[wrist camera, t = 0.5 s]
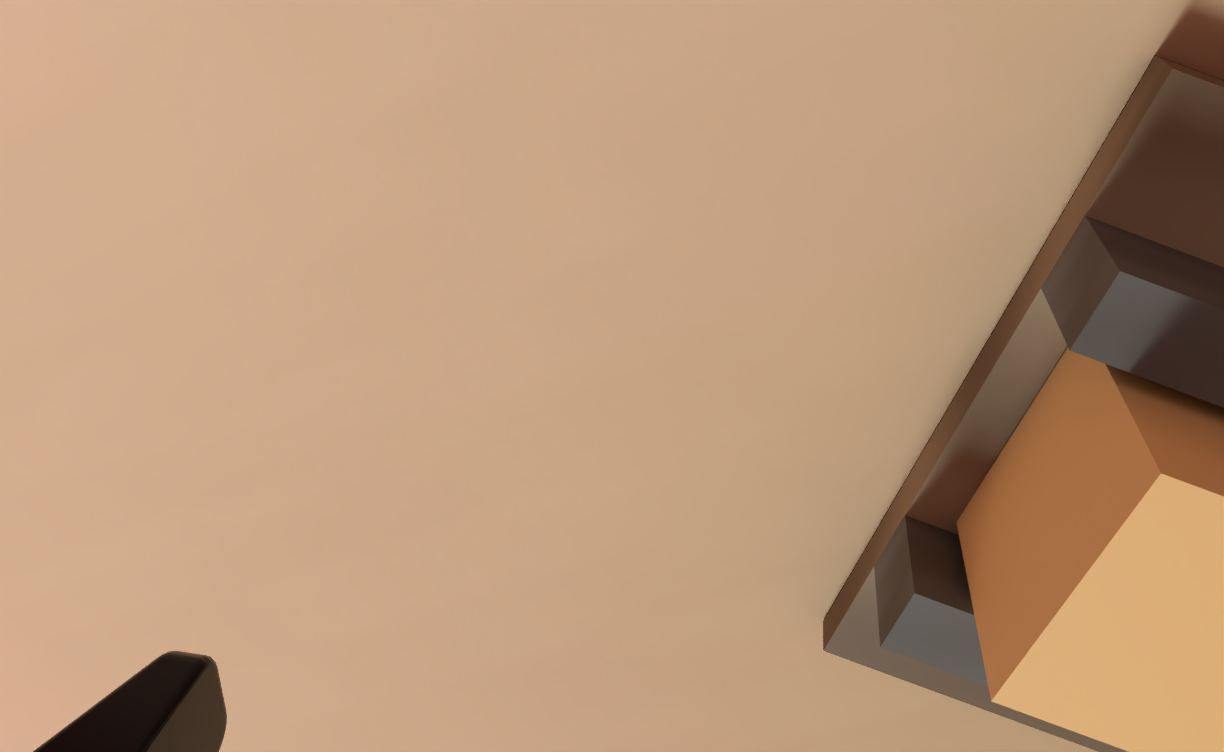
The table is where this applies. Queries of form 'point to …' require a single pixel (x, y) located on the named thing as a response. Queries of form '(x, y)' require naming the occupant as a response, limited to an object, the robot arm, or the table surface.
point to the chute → (1028, 353)
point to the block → (1105, 561)
